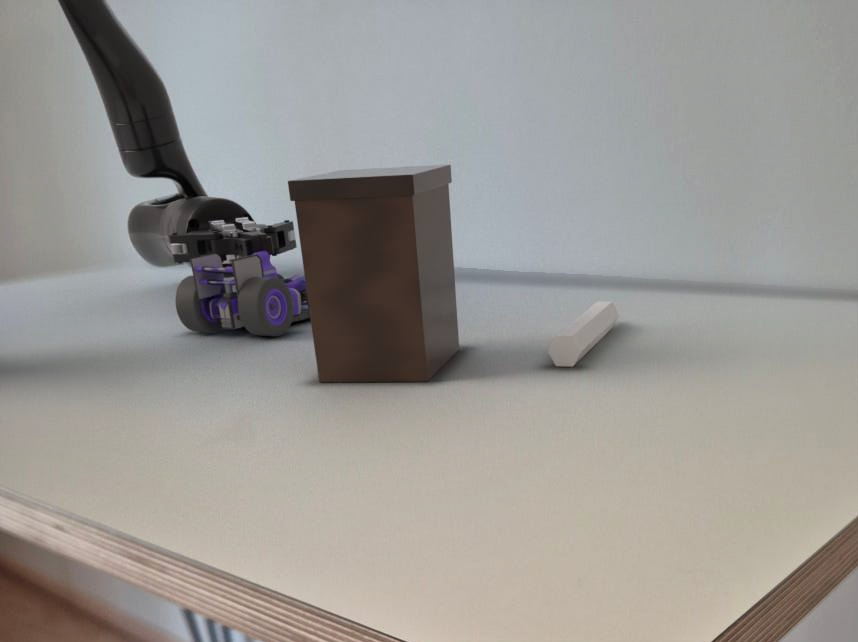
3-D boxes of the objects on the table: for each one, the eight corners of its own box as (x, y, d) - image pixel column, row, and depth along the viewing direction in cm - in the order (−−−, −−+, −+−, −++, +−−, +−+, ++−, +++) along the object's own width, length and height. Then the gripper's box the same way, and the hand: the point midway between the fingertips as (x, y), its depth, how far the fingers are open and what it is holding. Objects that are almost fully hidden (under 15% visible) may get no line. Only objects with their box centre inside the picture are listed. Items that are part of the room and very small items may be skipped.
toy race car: (362, 308, 94) (354, 236, 91) (263, 341, 82) (250, 260, 79) (284, 305, 98) (274, 236, 95) (180, 336, 86) (165, 259, 83)
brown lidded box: (311, 383, 68) (282, 181, 62) (357, 350, 77) (336, 170, 71) (429, 382, 67) (412, 174, 60) (462, 348, 75) (450, 164, 69)
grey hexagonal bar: (613, 330, 82) (568, 374, 69) (592, 317, 82) (543, 358, 69) (629, 302, 80) (586, 341, 67) (608, 289, 80) (561, 325, 67)
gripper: (139, 203, 96) (179, 209, 83) (266, 190, 101) (324, 194, 88) (156, 282, 100) (197, 301, 86) (278, 266, 105) (335, 281, 91)
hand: (261, 247), depth 87 cm, fingers closed
